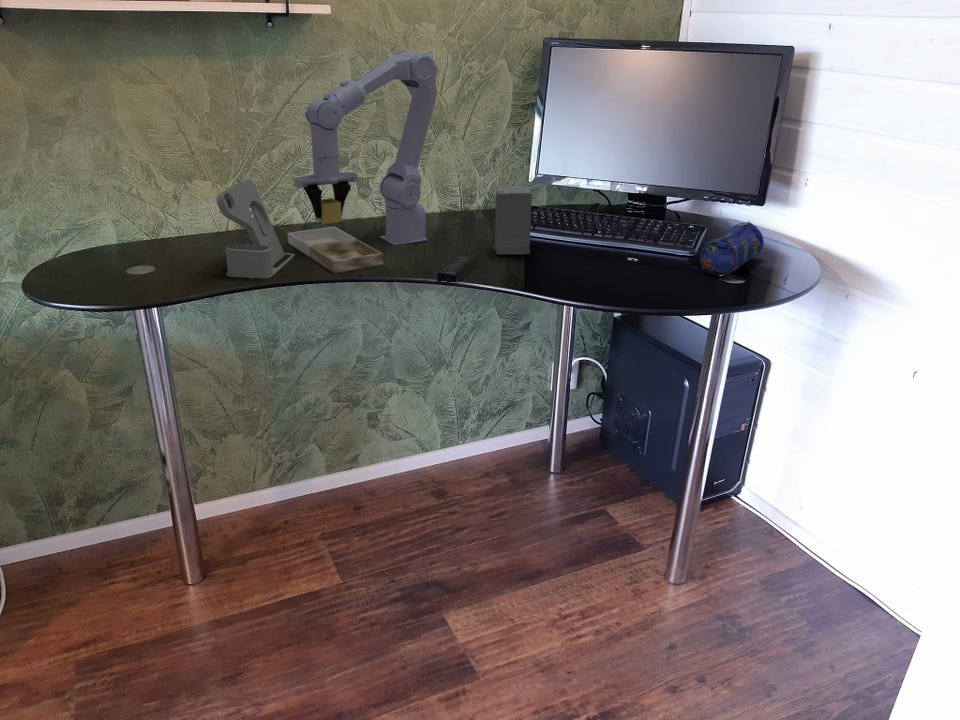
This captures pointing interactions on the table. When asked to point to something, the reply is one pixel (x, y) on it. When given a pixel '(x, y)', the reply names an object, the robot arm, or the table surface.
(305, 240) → the white tub
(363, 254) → the birch box
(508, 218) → the skincare box
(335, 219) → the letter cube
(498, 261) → the table surface
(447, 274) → the multiport hub
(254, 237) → the phone holder
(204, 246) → the table surface
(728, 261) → the pencil case
